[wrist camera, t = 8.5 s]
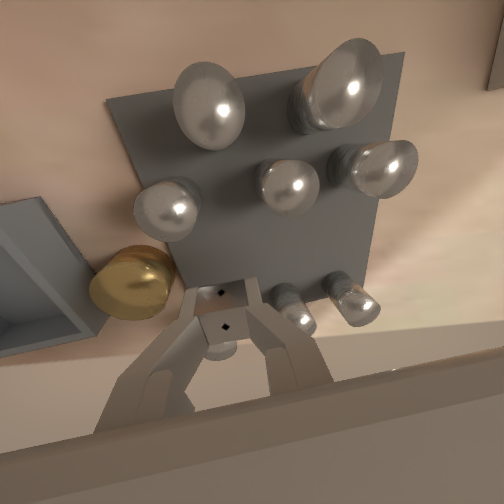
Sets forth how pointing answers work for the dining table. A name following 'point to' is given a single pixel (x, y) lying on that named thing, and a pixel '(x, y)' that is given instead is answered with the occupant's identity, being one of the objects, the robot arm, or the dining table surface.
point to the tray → (42, 282)
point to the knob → (134, 283)
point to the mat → (244, 195)
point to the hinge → (498, 64)
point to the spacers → (286, 164)
